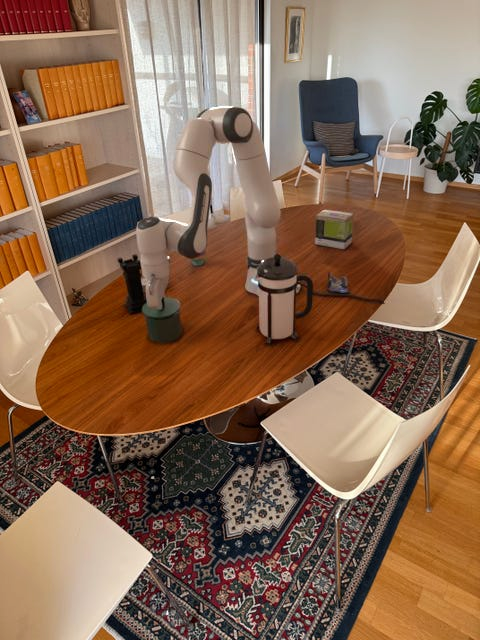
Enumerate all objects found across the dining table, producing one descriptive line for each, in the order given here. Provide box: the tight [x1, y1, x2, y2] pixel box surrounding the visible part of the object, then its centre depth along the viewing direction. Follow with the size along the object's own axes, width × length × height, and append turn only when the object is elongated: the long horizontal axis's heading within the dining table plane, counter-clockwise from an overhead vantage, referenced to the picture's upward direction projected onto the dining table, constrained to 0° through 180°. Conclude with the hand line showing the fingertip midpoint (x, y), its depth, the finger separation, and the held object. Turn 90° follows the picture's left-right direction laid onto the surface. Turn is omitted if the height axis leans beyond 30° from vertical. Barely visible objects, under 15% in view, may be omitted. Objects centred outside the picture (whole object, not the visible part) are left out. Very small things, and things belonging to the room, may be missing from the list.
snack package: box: [326, 271, 350, 294], centre depth 185 cm, size 12×6×12 cm
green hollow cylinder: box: [144, 308, 183, 344], centre depth 161 cm, size 12×12×10 cm
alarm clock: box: [141, 275, 169, 293], centre depth 192 cm, size 11×5×15 cm
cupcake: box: [189, 250, 208, 267], centre depth 208 cm, size 9×8×12 cm
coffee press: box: [254, 253, 314, 346], centre depth 153 cm, size 17×16×30 cm
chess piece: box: [116, 253, 147, 315], centre depth 175 cm, size 8×8×20 cm
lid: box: [141, 297, 181, 318], centre depth 157 cm, size 13×13×5 cm
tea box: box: [314, 209, 355, 250], centre depth 220 cm, size 15×10×15 cm
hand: (161, 305), depth 157 cm, fingers closed on lid, 2 cm apart
